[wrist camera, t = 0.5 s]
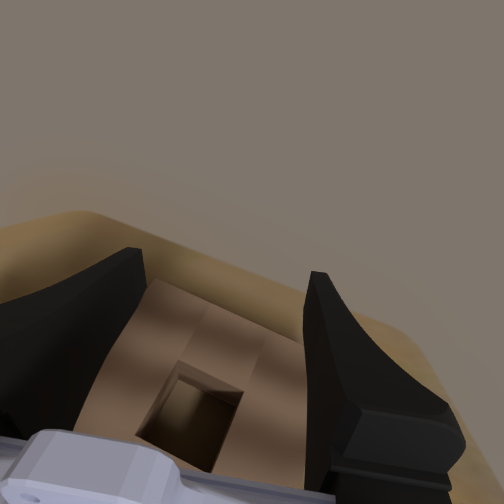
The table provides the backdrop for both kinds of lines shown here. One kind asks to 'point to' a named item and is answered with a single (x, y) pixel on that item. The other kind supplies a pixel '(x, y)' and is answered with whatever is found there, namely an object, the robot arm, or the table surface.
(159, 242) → the table surface
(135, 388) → the hole block
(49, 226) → the table surface
